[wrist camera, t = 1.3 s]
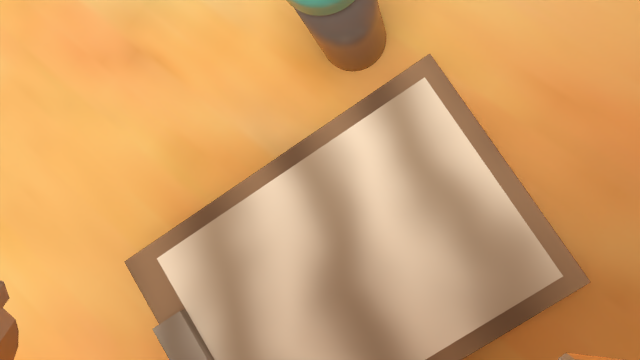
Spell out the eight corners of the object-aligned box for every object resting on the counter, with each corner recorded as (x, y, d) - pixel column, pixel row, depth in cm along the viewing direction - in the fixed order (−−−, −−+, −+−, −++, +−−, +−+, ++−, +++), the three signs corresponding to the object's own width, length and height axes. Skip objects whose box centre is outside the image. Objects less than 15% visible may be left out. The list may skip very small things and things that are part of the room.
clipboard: (429, 57, 34) (429, 48, 32) (586, 280, 32) (595, 284, 30) (130, 260, 37) (115, 262, 35) (254, 480, 34) (244, 494, 33)
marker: (363, -7, 35) (328, -121, 23) (400, 46, 34) (383, -43, 23) (308, 32, 36) (245, -60, 24) (344, 85, 35) (298, 18, 23)
